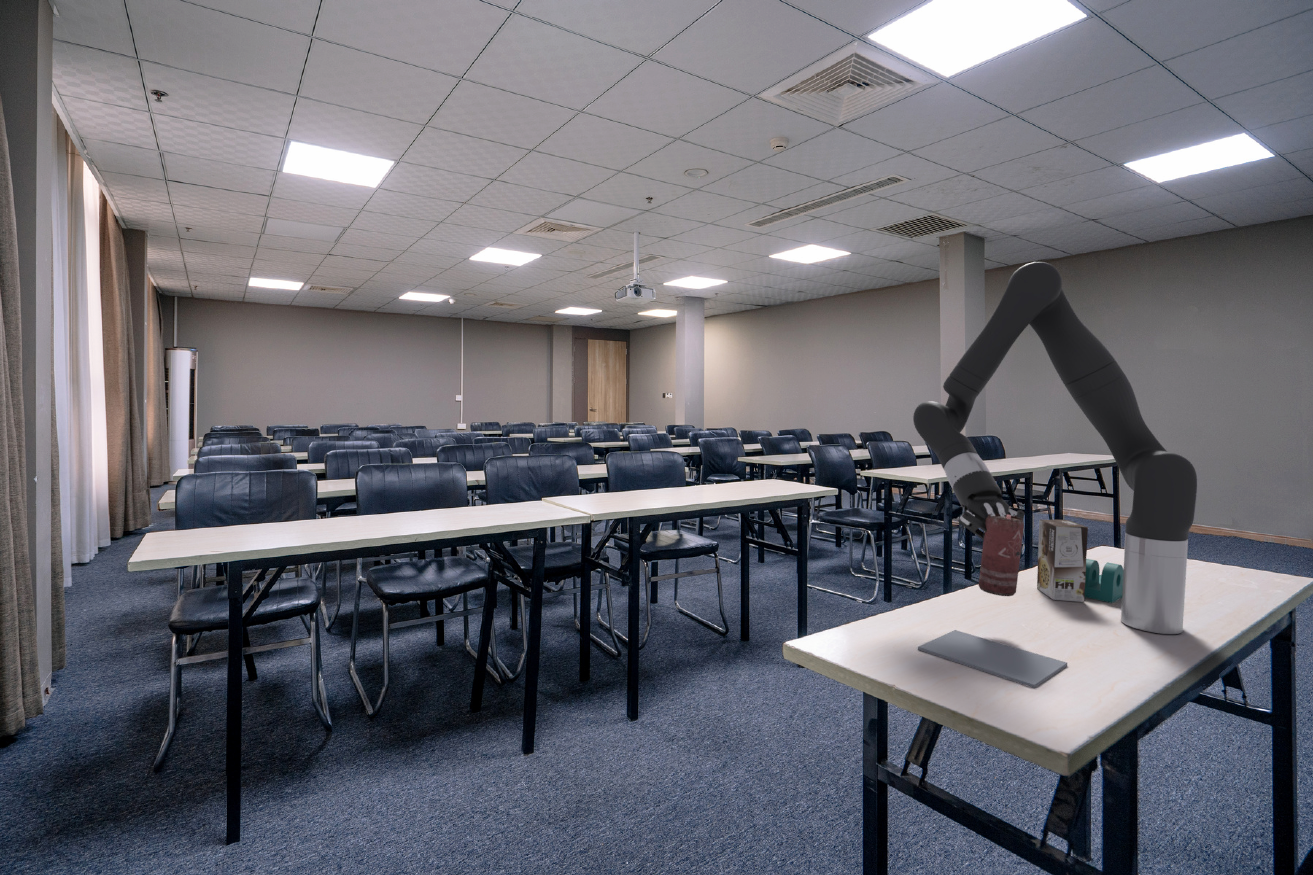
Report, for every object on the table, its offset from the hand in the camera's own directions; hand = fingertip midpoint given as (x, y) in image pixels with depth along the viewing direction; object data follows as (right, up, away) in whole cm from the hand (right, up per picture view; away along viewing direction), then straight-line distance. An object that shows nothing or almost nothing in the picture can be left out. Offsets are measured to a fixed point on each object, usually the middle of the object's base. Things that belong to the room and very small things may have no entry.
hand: (1013, 557), depth 112 cm
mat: (-9, -15, -9) cm, 20 cm away
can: (-1, -7, +3) cm, 8 cm away
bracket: (+38, -14, +29) cm, 49 cm away
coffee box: (+25, -13, +25) cm, 38 cm away
